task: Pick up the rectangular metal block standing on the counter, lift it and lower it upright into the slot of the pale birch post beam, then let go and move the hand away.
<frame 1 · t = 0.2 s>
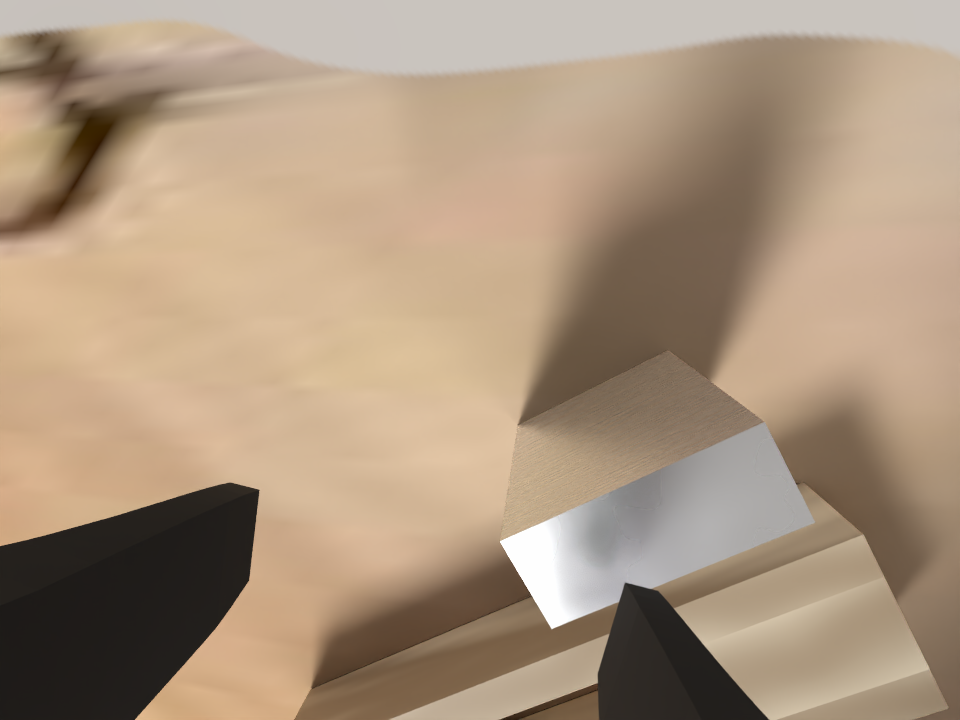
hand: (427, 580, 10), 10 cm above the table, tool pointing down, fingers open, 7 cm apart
post beam: (568, 661, 21), on the table
rectangular metal block: (605, 417, 19), on the table
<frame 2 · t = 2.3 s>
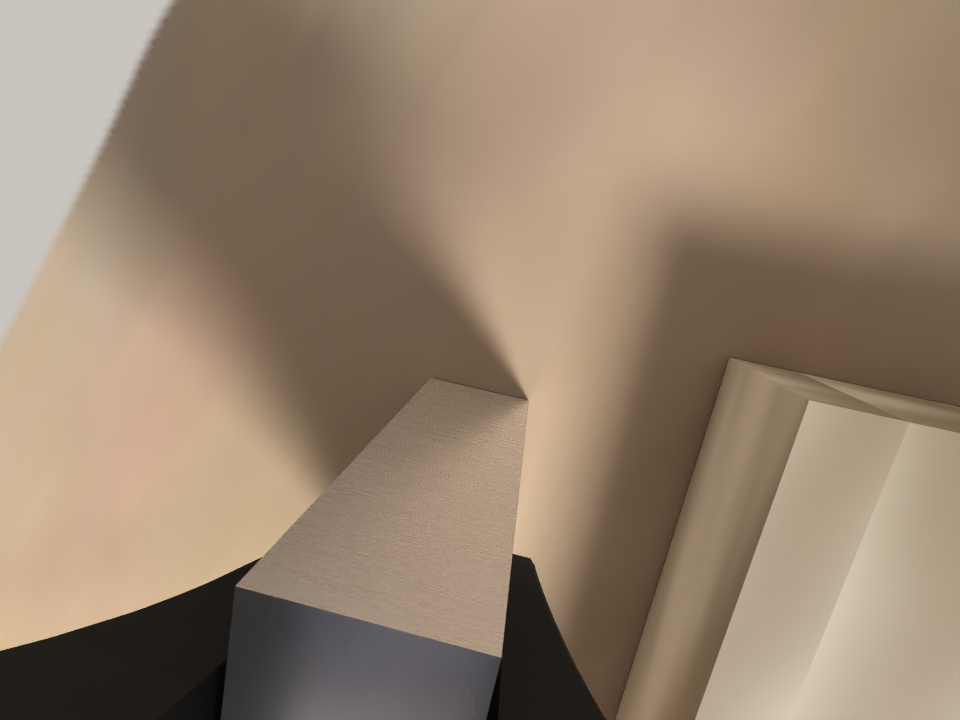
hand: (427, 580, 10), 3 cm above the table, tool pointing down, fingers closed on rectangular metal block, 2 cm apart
rectangular metal block: (455, 501, 13), on the table, touching gripper
when the fingers open (5 cm above the table, at t = 5.9 s): rectangular metal block stays where it is, resting in post beam.
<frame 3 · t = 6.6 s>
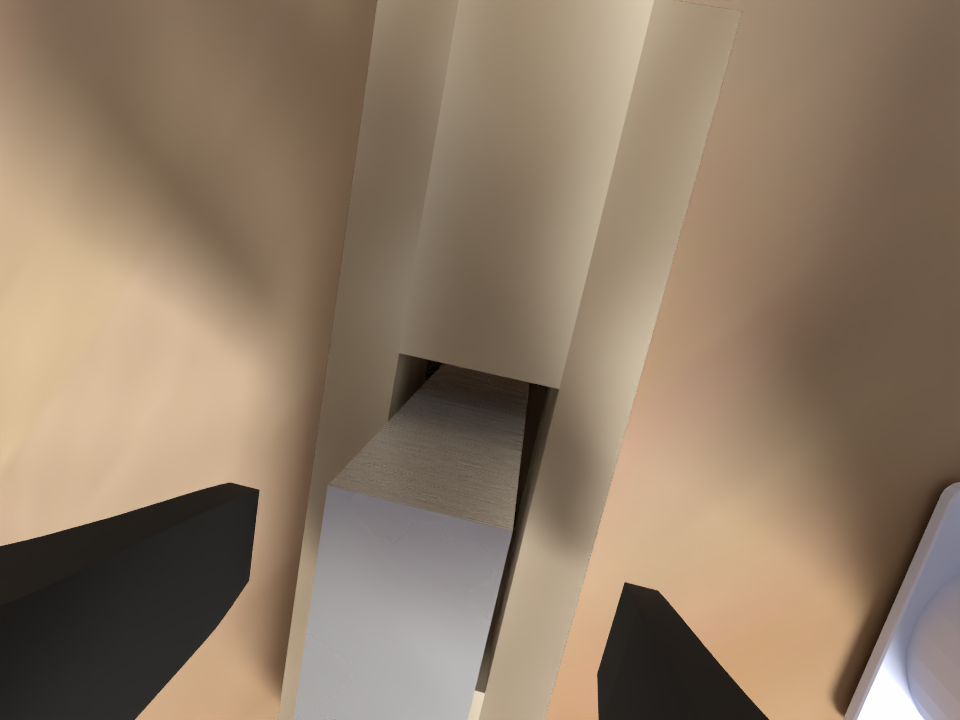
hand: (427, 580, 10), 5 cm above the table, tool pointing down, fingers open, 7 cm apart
post beam: (467, 469, 15), on the table
rectangular metal block: (466, 468, 15), resting in post beam
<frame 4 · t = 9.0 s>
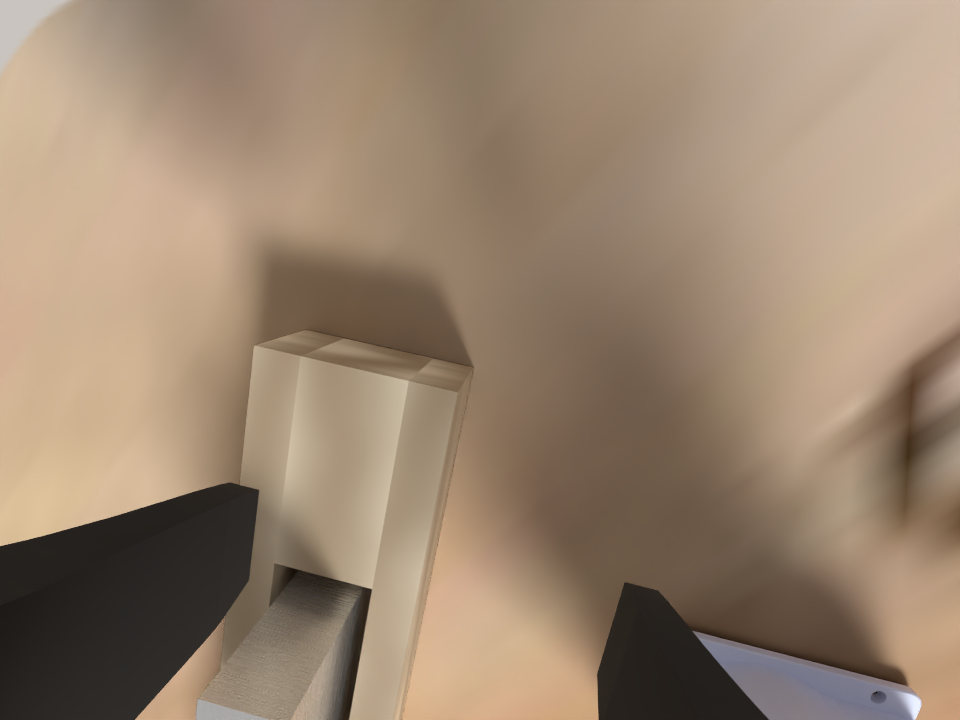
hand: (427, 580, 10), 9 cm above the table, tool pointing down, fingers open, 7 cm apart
post beam: (346, 604, 21), on the table
rectangular metal block: (346, 603, 21), resting in post beam
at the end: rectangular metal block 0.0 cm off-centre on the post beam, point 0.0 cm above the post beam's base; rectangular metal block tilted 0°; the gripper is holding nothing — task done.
